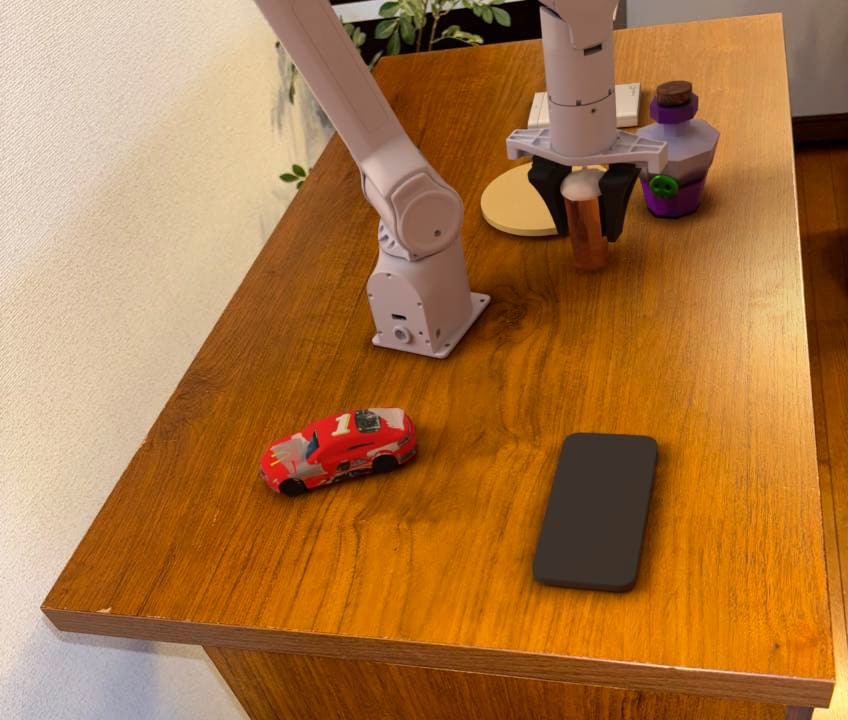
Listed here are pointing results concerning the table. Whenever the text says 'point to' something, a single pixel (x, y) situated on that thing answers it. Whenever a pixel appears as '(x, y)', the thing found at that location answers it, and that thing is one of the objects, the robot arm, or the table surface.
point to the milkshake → (586, 218)
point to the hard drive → (625, 107)
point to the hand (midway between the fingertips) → (590, 233)
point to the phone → (596, 512)
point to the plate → (519, 204)
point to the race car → (339, 449)
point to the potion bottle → (678, 152)
